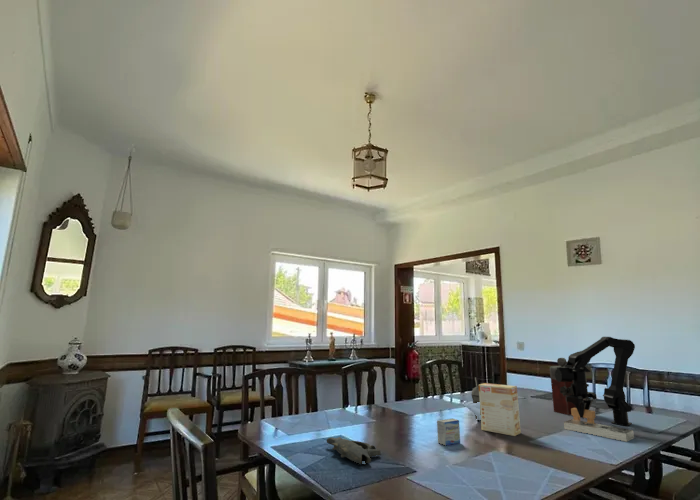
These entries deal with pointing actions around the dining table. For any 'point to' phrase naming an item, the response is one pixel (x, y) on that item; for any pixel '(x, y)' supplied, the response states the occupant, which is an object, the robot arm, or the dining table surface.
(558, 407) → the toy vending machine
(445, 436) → the medicine box
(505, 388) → the coffeecake box
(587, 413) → the tan stepped block
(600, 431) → the rail
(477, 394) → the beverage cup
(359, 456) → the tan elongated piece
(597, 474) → the dining table surface
